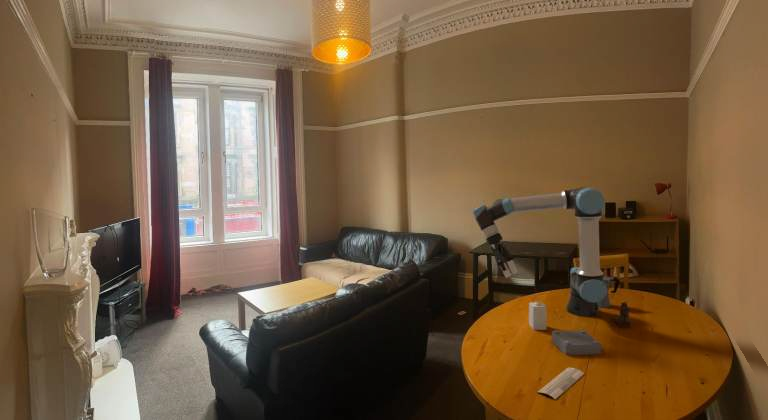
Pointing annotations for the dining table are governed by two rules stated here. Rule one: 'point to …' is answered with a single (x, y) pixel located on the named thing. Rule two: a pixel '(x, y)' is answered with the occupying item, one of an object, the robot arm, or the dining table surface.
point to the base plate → (576, 342)
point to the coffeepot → (606, 301)
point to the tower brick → (537, 316)
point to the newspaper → (561, 382)
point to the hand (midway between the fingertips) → (512, 274)
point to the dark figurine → (623, 316)
